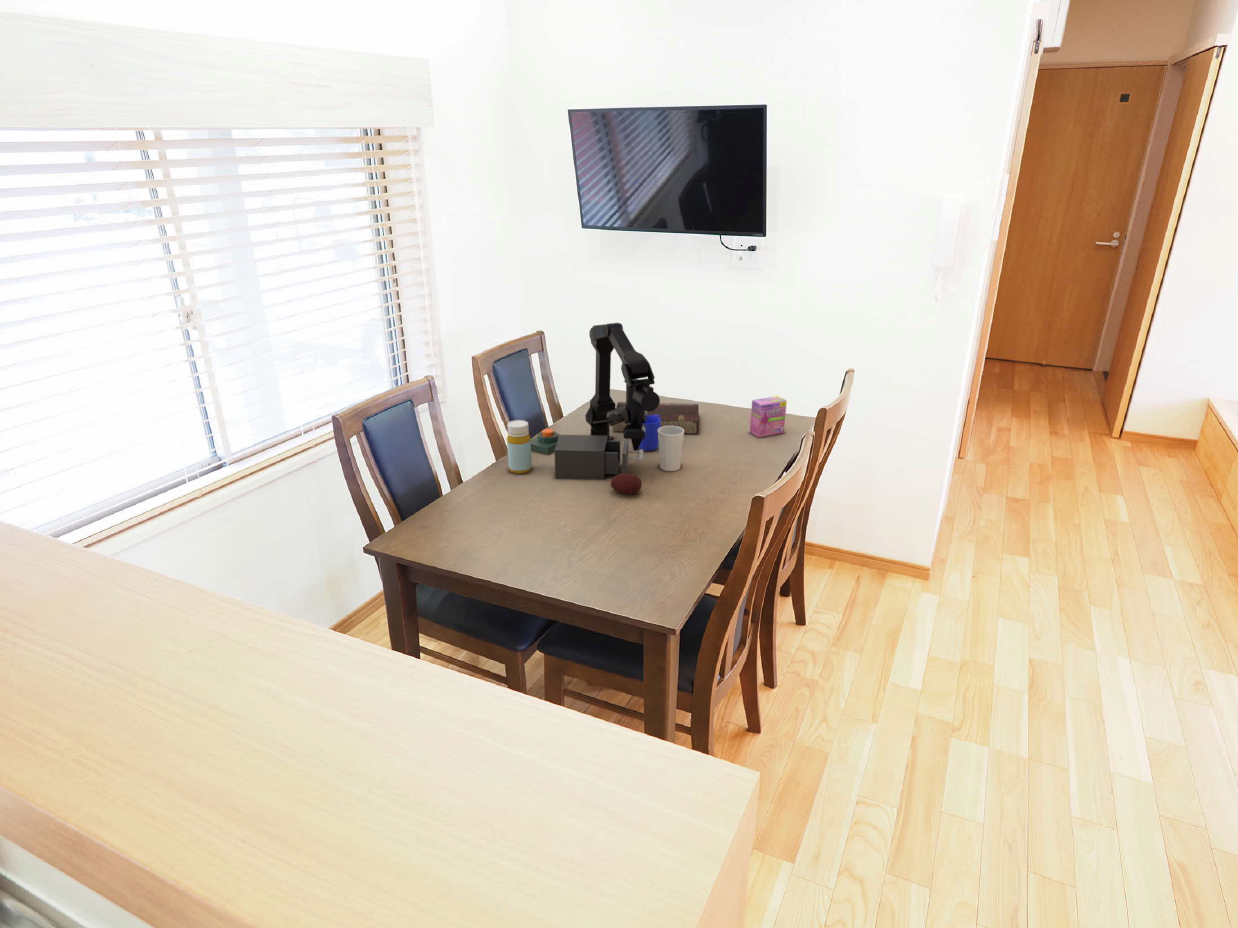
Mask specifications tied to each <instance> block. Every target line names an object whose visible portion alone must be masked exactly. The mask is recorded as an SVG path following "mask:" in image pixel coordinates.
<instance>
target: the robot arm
mask: <svg viewBox="0 0 1238 928" xmlns="http://www.w3.org/2000/svg"><path fill="white" fill-rule="evenodd" d="M588 334H589V335H588V336H589V340H590V344H591V345H592V347H593V349H594V351H595V387H594V390H595V391H594V395H593V396H592V398H591V399H590V400H589V408H588V409H587V411H586V412H585V422H586V423H587V424H588V425H589V426H590V435H601V436H607V441H612V440H614V436H613V435H611V433H610V432H611V431H610V429H611V428H610V427H613V426H614V425H615V424H618V423H621V422H624V421H625V424H627V425H626V427H625V428H624V432H623V439H624V440H625V439H628V440H630V441H631V445H632V450H633V451H639V446H640V444H641V441H642V439H645V433H646V425H643V424H645V420H647V411H653V410H655V409H656V408H657V407H658V406H659V403H661V399H660V396H659V394H658V393H657V392H655V391H654V389H655V388H654V387H653V386H652V385H655V374H654V372H653V369H652V366H651V364H650V362H649V361H648V359H647V358H646V357H645V356H644V354H643V353H640V352H638V351H637V350H636V349H635V348H634V346H633V344H632V343H631V341H630V339H629V338H628V335H627V334H626V332H625V331H624V327H623V324H622V323H621V322H611V323H604V324H603V323H602V324H597V325H596V324H595V325H593V326H592V327H591V328H590V330H589V332H588ZM613 351H615V353H617V355H618V357H619V359H620V361H621V366H620V367H621V368H620V369H621V374H622V377H623V378H624V379H623V383H625V402H626V403H625V407H622V408H618V409H616V406H617V404H616V403H615V401H614V400H613V398H612V397H611V373H612V372H611V371H612V370H611V369H612V353H613Z"/></svg>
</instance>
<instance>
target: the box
mask: <svg viewBox="0 0 1238 928" xmlns="http://www.w3.org/2000/svg"><path fill="white" fill-rule="evenodd" d="M787 401H788V400H786V399H784V398H783V397H781V396H779V395H775V396H768V397H763V398H757V399H752V400H751V411H750V422H749V423H750V426H749V433H750V434H751V435H753V436H755V437H757V438H764V437H770V436H773V435H778V434H780V435H781V434H784V433H785V425H786V424H785V423H786V414H787V413H786V412H787Z"/></svg>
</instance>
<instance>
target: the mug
mask: <svg viewBox="0 0 1238 928" xmlns="http://www.w3.org/2000/svg"><path fill="white" fill-rule="evenodd" d="M643 425H646V433H645V439H642V441H641V444H640V446H639V448H638V450H640V449H642V450H643V452H652V451H656V450H657V449H658V448H659V441H658V429H659V428H660V425H661V419H660V418H659V415H654V416H653V415H647V420H645V424H643Z"/></svg>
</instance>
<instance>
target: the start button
mask: <svg viewBox="0 0 1238 928" xmlns="http://www.w3.org/2000/svg"><path fill="white" fill-rule="evenodd" d="M553 431H554V429H553V428H545V429H542V431H541V432H542V434H543V436H544V437H551V436H554V432H555V431H554V432H553Z"/></svg>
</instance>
